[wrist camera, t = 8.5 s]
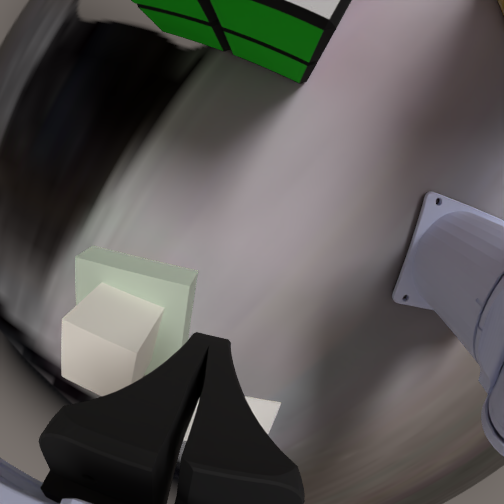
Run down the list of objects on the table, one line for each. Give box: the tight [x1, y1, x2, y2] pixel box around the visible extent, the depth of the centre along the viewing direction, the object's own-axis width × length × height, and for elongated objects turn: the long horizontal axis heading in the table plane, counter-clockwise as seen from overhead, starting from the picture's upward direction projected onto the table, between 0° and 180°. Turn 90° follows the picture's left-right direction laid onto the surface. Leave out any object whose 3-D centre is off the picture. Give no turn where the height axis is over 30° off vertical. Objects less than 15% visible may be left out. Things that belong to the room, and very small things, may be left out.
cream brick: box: [61, 282, 164, 396], centre depth 18 cm, size 4×4×5 cm
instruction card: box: [183, 396, 281, 441], centre depth 26 cm, size 10×8×1 cm
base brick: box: [75, 246, 198, 375], centre depth 22 cm, size 8×8×3 cm
